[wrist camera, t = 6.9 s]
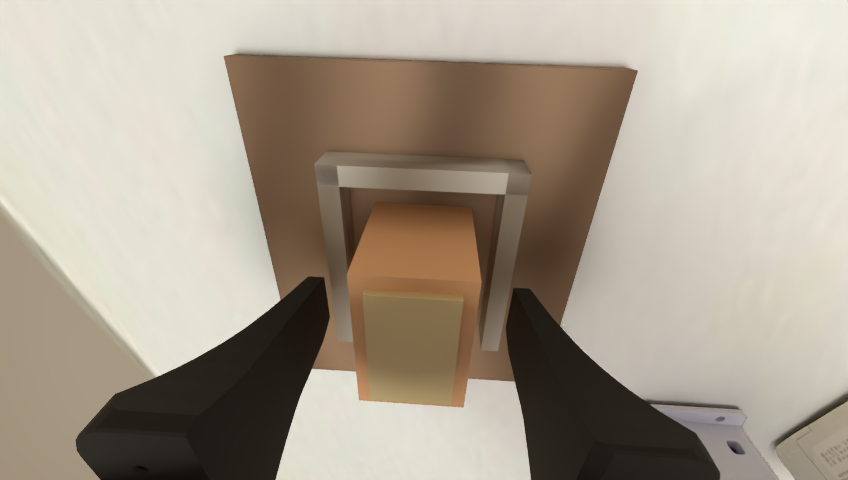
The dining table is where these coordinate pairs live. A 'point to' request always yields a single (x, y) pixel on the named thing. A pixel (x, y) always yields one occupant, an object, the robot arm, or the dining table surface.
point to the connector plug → (414, 303)
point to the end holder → (429, 171)
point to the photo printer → (819, 448)
